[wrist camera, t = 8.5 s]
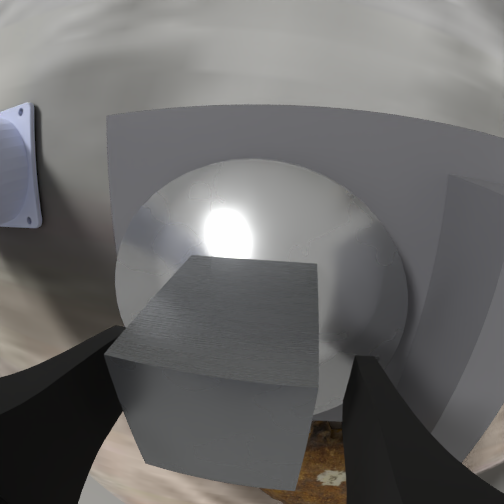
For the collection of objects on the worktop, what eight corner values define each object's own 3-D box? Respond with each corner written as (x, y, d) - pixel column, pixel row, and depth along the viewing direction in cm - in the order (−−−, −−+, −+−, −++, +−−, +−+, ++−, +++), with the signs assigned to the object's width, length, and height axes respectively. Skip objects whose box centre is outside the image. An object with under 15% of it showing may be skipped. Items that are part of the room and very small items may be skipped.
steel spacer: (200, 352, 13) (145, 463, 8) (191, 254, 12) (103, 354, 6) (306, 364, 13) (294, 491, 7) (317, 263, 11) (318, 388, 6)
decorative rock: (414, 478, 22) (367, 390, 19) (421, 511, 18) (376, 434, 15) (308, 510, 25) (226, 437, 22) (306, 541, 21) (215, 477, 18)
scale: (157, 374, 20) (111, 451, 13) (128, 116, 14) (25, 118, 8) (427, 397, 17) (450, 483, 11) (494, 139, 11) (591, 156, 5)
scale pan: (146, 387, 16) (140, 397, 15) (110, 160, 12) (99, 163, 11) (368, 415, 14) (369, 426, 14) (425, 172, 10) (433, 175, 9)
